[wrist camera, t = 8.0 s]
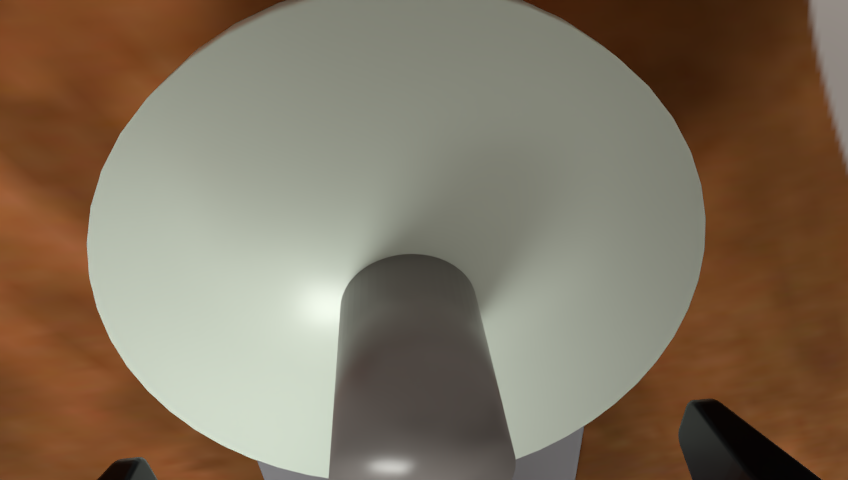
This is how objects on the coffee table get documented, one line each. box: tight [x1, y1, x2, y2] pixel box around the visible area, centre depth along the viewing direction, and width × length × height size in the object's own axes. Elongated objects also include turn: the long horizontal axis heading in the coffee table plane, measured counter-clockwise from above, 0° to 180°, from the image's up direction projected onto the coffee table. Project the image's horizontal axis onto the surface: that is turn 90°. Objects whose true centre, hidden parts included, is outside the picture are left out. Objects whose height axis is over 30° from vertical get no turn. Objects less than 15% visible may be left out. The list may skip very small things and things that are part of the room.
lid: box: [87, 0, 706, 480], centre depth 11 cm, size 13×13×5 cm
